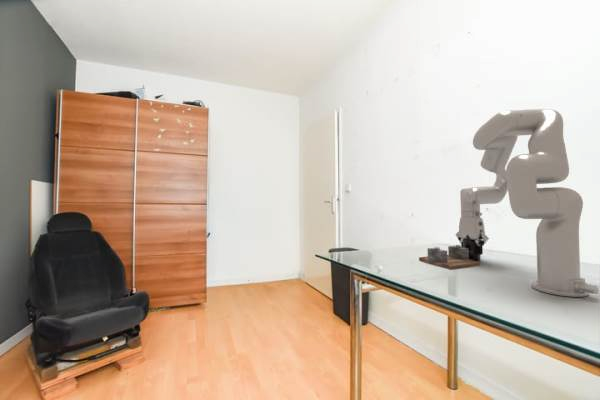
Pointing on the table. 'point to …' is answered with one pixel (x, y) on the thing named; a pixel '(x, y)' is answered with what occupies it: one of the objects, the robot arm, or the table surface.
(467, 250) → the bottle cradle
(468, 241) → the supplement bottle
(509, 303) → the table surface
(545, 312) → the table surface
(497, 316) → the table surface
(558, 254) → the robot arm
